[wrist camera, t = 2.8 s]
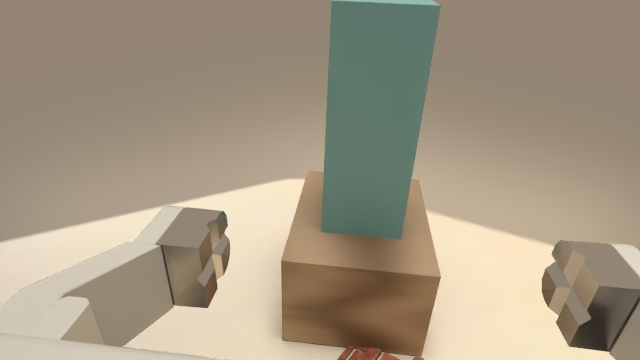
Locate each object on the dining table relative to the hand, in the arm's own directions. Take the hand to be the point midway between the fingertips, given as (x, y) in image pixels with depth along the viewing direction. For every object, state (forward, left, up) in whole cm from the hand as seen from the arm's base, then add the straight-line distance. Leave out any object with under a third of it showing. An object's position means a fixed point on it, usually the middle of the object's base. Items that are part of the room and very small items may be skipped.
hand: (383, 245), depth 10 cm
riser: (0, +12, -13) cm, 18 cm away
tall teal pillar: (0, +12, -7) cm, 14 cm away
